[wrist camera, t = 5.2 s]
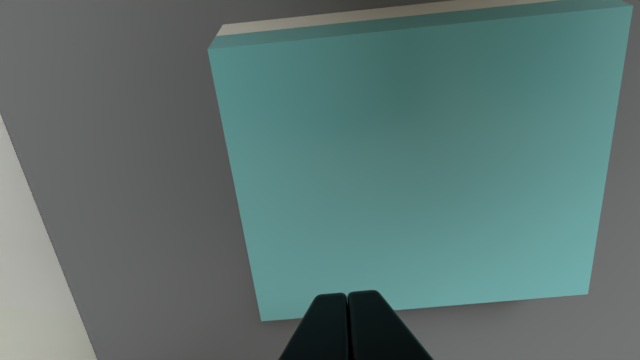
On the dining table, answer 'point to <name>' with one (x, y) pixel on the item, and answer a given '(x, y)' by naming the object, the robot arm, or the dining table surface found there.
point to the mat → (220, 196)
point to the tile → (422, 148)
